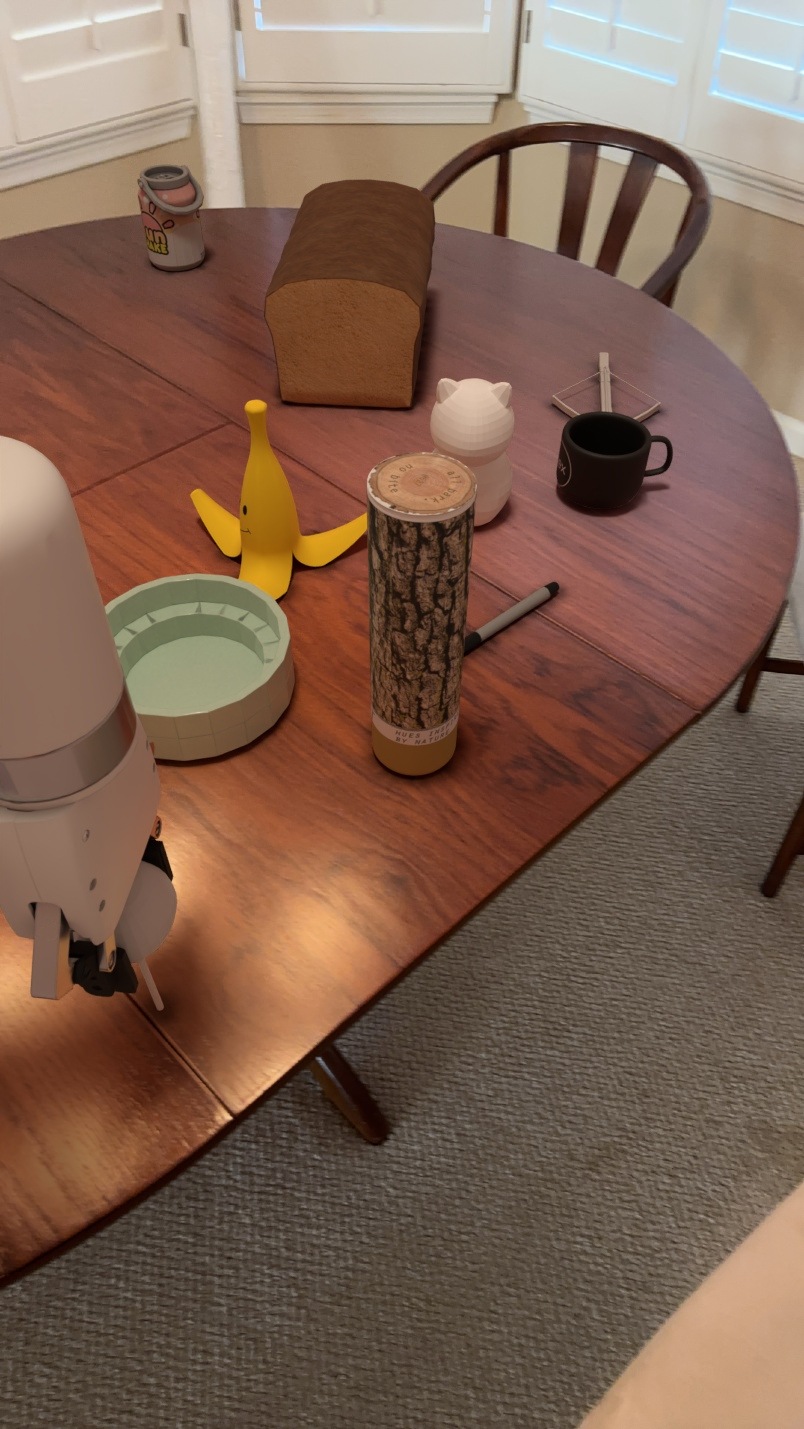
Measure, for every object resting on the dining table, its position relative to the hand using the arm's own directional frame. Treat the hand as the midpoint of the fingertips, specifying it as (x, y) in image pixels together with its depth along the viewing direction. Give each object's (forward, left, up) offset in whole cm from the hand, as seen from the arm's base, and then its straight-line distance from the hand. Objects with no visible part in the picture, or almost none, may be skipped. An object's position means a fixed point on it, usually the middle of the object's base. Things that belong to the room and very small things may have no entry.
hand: (128, 929), depth 54 cm
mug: (+31, +62, -10) cm, 70 cm away
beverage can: (-30, +113, -10) cm, 117 cm away
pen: (+20, +39, -10) cm, 45 cm away
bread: (0, +90, -10) cm, 91 cm away
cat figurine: (+16, +58, -10) cm, 61 cm away
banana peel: (0, +47, -10) cm, 48 cm away
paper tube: (+14, +24, -10) cm, 30 cm away
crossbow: (+31, +82, -10) cm, 88 cm away
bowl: (-5, +28, -10) cm, 30 cm away
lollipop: (0, 0, -10) cm, 10 cm away
